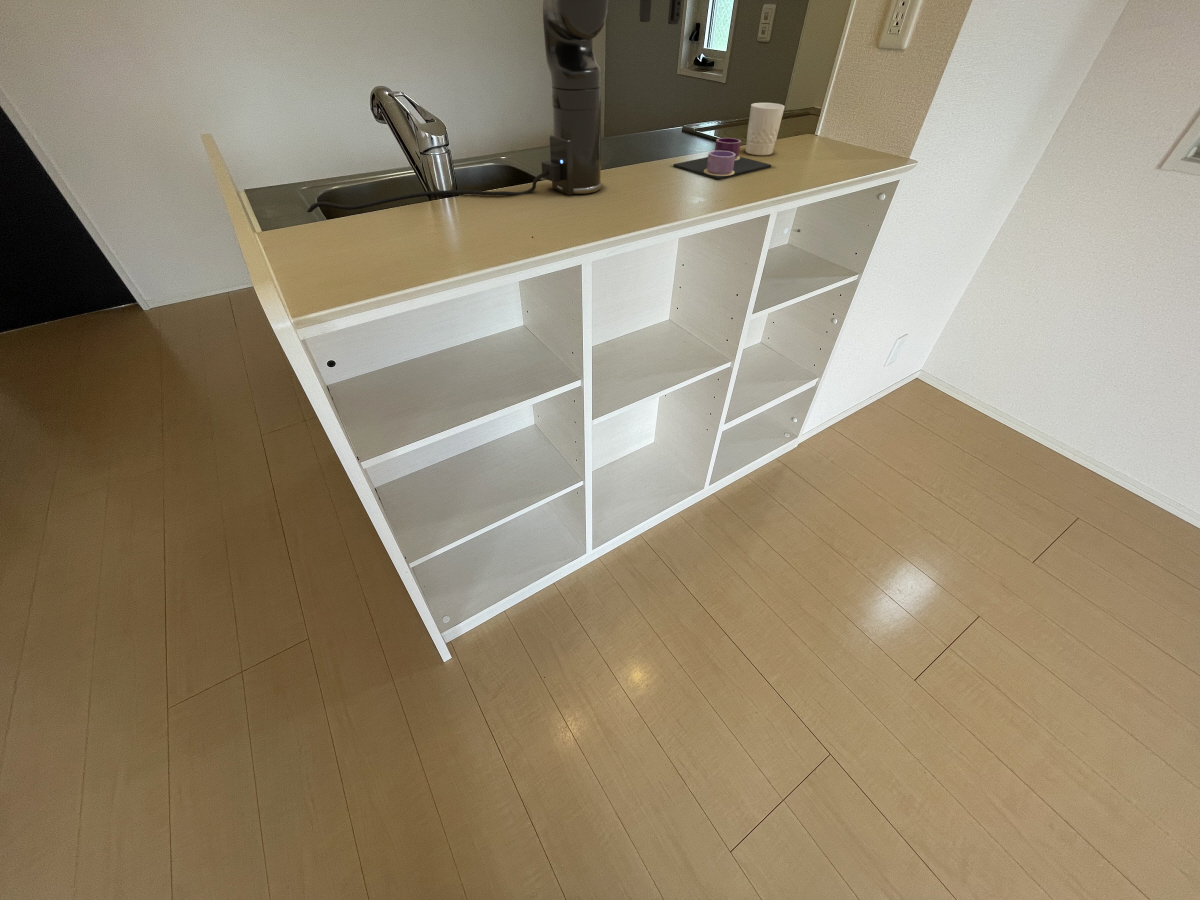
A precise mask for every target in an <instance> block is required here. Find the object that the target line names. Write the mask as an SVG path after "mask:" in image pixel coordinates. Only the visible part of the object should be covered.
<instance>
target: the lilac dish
mask: <svg viewBox="0 0 1200 900" xmlns="http://www.w3.org/2000/svg"><path fill="white" fill-rule="evenodd" d="M735 156H736V154H735V153H733V152H730V151H715V150H711V151H709V152H708V154H707V157H708V162H707V169H708V172H710V173H713V174H729V173H731V171H733V168H734V162H735Z"/></svg>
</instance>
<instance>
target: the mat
mask: <svg viewBox="0 0 1200 900" xmlns="http://www.w3.org/2000/svg"><path fill="white" fill-rule="evenodd" d="M707 162H708V156H705V157H701V158H696V159H691V160H686V161H683V162H678V163H673V167H674V168H677V169H681V170H684V171H686V172H691V173H693V174H696V175H701V176H703V177H707V178H710V179H713V180H717V181H719V180H724V179H728V178H732V177H736V176H739V175H744V174H749V173H752V172H756V171H761V170H765V169H769V168H771V167H772V164H770V163H766V162H761V161H758V160H754V159H751V158H746V157H743V156H740V155H739V156H737V158H736V159H735V162H734V168H733V171H731V173H729V174H713V173H710V172H708V169H707Z"/></svg>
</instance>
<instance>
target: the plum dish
mask: <svg viewBox="0 0 1200 900" xmlns="http://www.w3.org/2000/svg"><path fill="white" fill-rule="evenodd" d="M741 144H742V140H740V139H739V138H733V137H719V138H717V139H716V140H715V144H714V146H715V147H714V151H730V152H733V153H735V154H736V156H735V159H736V158H737V156H739V157H740V150H741Z"/></svg>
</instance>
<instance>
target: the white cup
mask: <svg viewBox="0 0 1200 900" xmlns="http://www.w3.org/2000/svg"><path fill="white" fill-rule="evenodd" d="M785 107H786V106H785V105H783V104H781V103H775V102H755V103H751V104H750V111H749V116H748V124H747V134H746V142H745V143H746V144H745V152H746V154H749V155H753V156H769V155H772V154H773V153H774V149H775V145H776V141H777V139H778V134H779V132H780V128H781V123H782V119H783V116H784V111H785Z"/></svg>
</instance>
